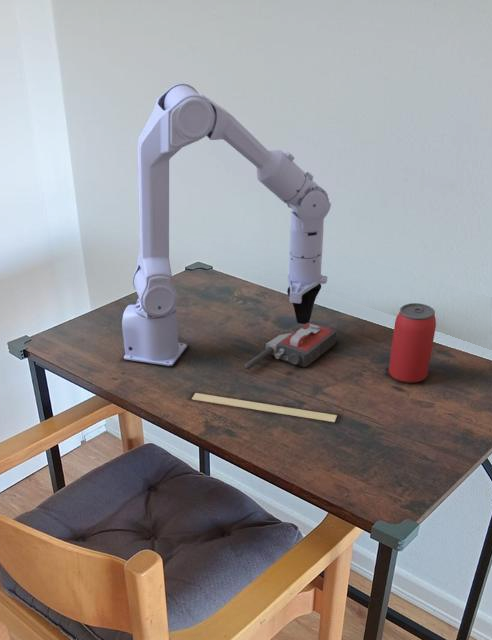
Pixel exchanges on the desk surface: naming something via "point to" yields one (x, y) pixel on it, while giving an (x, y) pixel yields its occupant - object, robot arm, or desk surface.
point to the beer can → (412, 343)
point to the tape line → (265, 407)
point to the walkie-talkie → (299, 345)
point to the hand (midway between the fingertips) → (303, 323)
